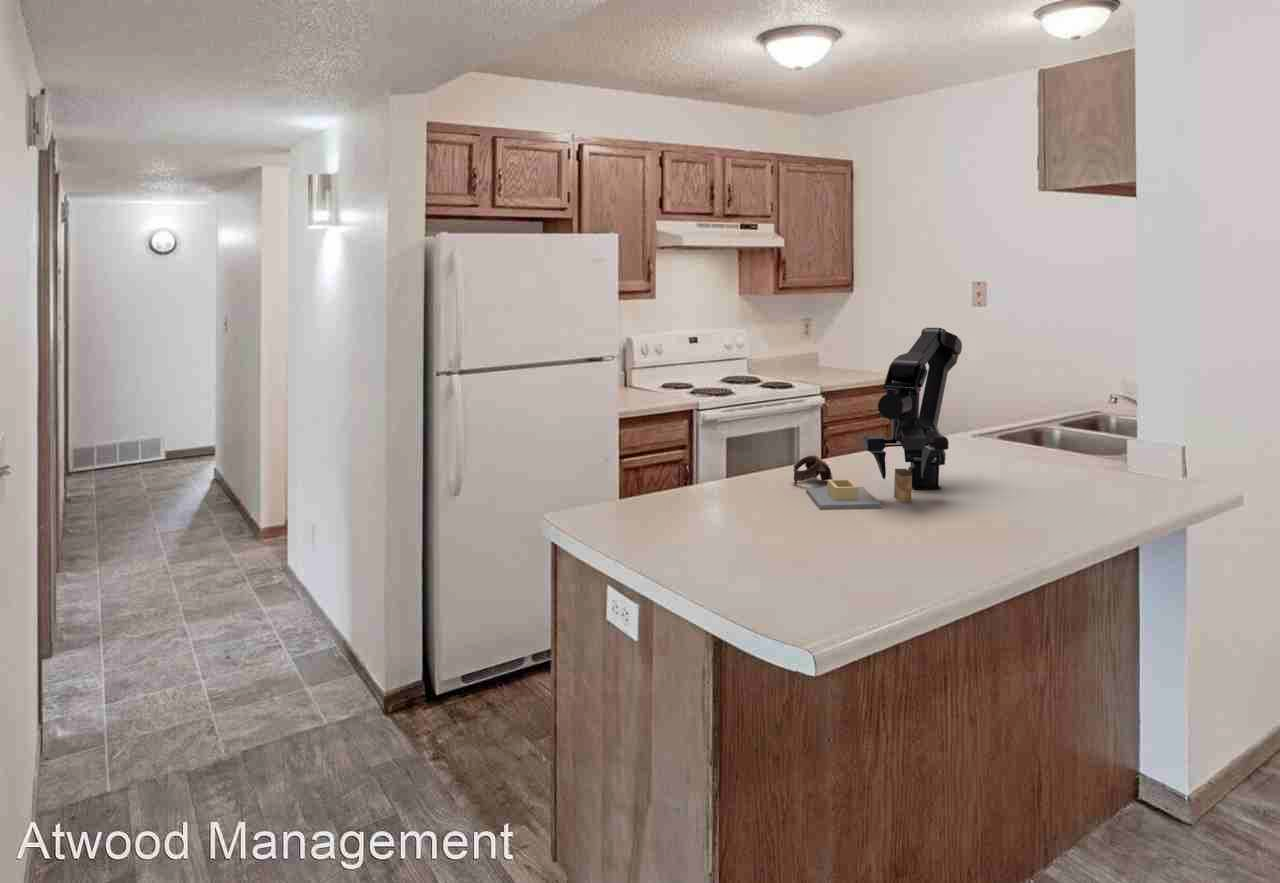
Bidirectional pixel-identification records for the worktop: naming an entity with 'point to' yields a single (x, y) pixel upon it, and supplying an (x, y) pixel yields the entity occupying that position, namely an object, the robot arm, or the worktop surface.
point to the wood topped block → (903, 485)
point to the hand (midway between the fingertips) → (903, 478)
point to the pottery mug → (812, 469)
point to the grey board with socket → (842, 496)
